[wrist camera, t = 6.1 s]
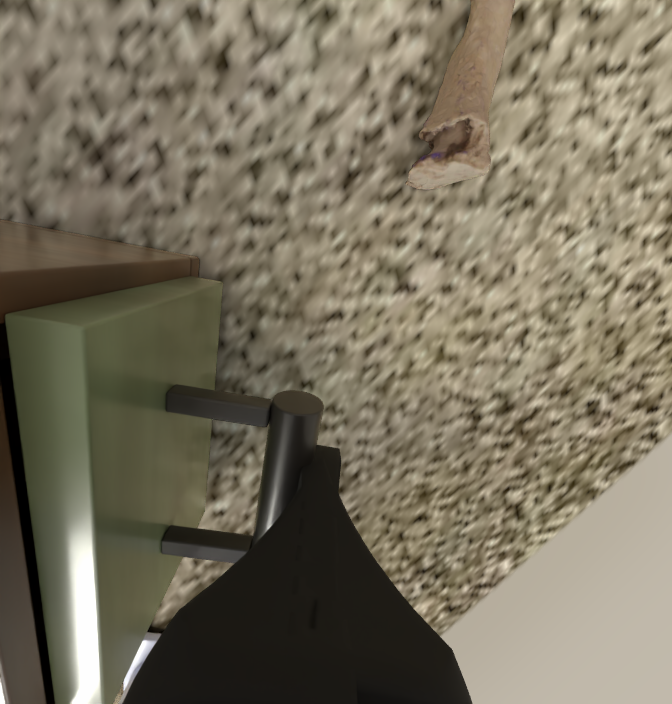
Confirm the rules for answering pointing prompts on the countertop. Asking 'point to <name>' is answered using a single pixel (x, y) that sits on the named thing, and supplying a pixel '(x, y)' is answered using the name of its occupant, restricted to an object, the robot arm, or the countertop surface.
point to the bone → (465, 101)
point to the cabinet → (3, 510)
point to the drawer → (127, 464)
